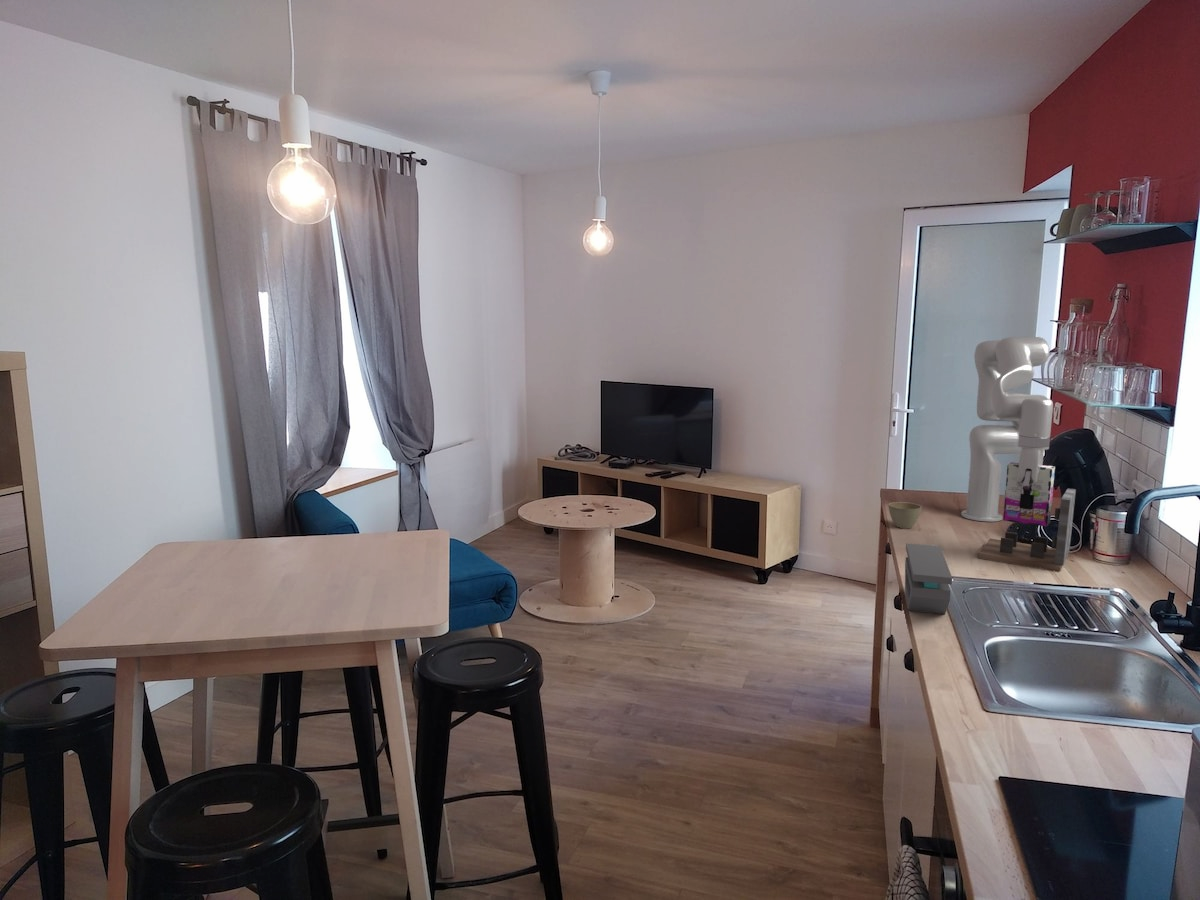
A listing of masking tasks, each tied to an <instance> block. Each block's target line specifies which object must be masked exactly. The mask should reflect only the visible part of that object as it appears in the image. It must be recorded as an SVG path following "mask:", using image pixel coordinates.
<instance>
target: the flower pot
mask: <svg viewBox="0 0 1200 900" xmlns="http://www.w3.org/2000/svg"><path fill="white" fill-rule="evenodd" d="M922 508H923V506H922V505H920V504H917V503H913V502H903V501H898V502H897V501H895V502H889V503H888V510H889V514H890V518H891V520H892V522H893V524H894V526H895V527H896V526H897V527H896V528H898V527H900V528H899V529H903V528H910V529H912V528H914V526H915V525H916V523H917V522H918V520H919V518H920V515H921V512H922Z"/></svg>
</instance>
